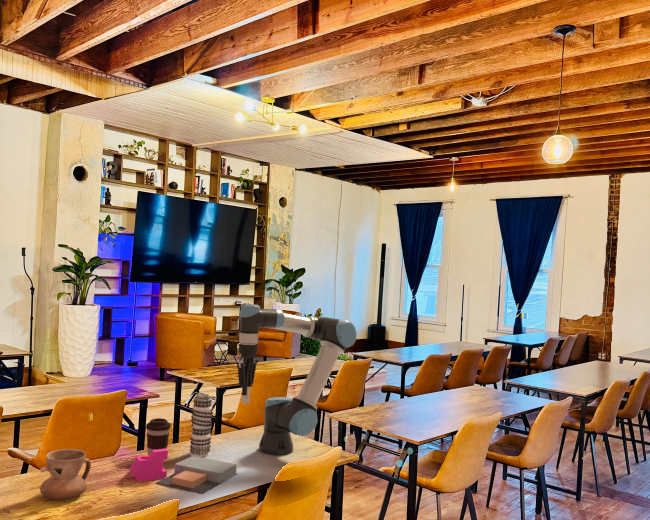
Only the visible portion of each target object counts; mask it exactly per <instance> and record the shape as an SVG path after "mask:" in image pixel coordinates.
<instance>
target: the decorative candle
mask: <svg viewBox="0 0 650 520" xmlns="http://www.w3.org/2000/svg"><path fill="white" fill-rule="evenodd" d="M212 401H213V398H212V396H211V395H210V394H209V393H198V394H196V395H195V397H193V406H192V407H191V412H190V413H191V414H192V415H191V417H190V418H191V419H190V421H191V429H192V431H191V436H190V445H189V448H190V449H189V455H190V457H191V456H197V457H202V458H206V457H209V456H210V455H211V448H212V447H211V446H212V445H210V444H212V443H211V442H212V441H211V440H212V437H211V428H212V426H213V424H212V423H213V419H212V418H213V417H214V416H213V414H214V412H213V411H212V410H213V405H212V404H213V402H212ZM208 455H209V456H208ZM205 456H206V457H205Z"/></svg>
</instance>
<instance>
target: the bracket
mask: <svg viewBox="0 0 650 520" xmlns="http://www.w3.org/2000/svg"><path fill="white" fill-rule="evenodd" d="M168 456H169V450H168V449H159V450H152V452H151V454H150V455H148V454H147V455H141V456H140V455H139V456H136V457H135V458H134V460H133V463H132V464H131V466H130V468H129V473H130V474H131V473H132V474H133V475H132V476H133V477H134V478H135V479H136V480H137V482H139V483H141V482H146V481H147V480H148V481H154V480H161V479H164V478H165V477H168V475H167V473H168V471H167V470H166V469H165V467H164V466H163V465H164V461H167V460H169V459H168V458H169V457H168ZM160 478H161V479H160ZM140 481H141V482H140Z"/></svg>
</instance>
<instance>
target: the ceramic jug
mask: <svg viewBox="0 0 650 520" xmlns="http://www.w3.org/2000/svg"><path fill="white" fill-rule="evenodd" d="M86 456H87V454H86V452H85V451H84V450H83V449H82V450H81V449H76V448H65V449H64V448H63V449H56V450H53V451H50V452H48V453H47V454H46V457H45V458H46V465H45V466H42V467H40V469H39V471H40V472H41V473H45V472H49V474H50V476H49V477H48V478H46V479H45V480H44V481H43V482H42V483H41V484H40V488H39V490H40V494H41V496H43V497H45V498H46V499H49V500H51V501H52V500H53V501H66V500H68V501H69V500H71V499H75V498H77V497H79V496H80V495H82V494H83V493H85V491H86V490H87V488H88V487H87V486H88V484H87V482H86V479H87V477H88V475H89V473H90V471H91V468H92V462H91V459H89V458H88V457H86ZM84 464H85V469H84V471H83V474H82V476H80V475H79V473H80V472H81V469H82V467H83V465H84Z"/></svg>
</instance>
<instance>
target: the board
mask: <svg viewBox="0 0 650 520" xmlns="http://www.w3.org/2000/svg"><path fill="white" fill-rule="evenodd" d="M237 466H238V465H237V463H233V462H228V461H222V460H217V459H213V458H207V457H197V456H191V455H190V457H187V458H185V459H183V460H181V461H178V462H176V463H175V464H174V473H173V474H179V473H182V472H184V471H186V470H190V471H194V472H199V473H204V474H207V481H212V482H217V483H221V482H222V481H224V480H226V479H227V480H226V481H228V480H229V479H231V478H233V477H235V476H236V475H237ZM224 482H225V481H224ZM221 484H222V483H221Z"/></svg>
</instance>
